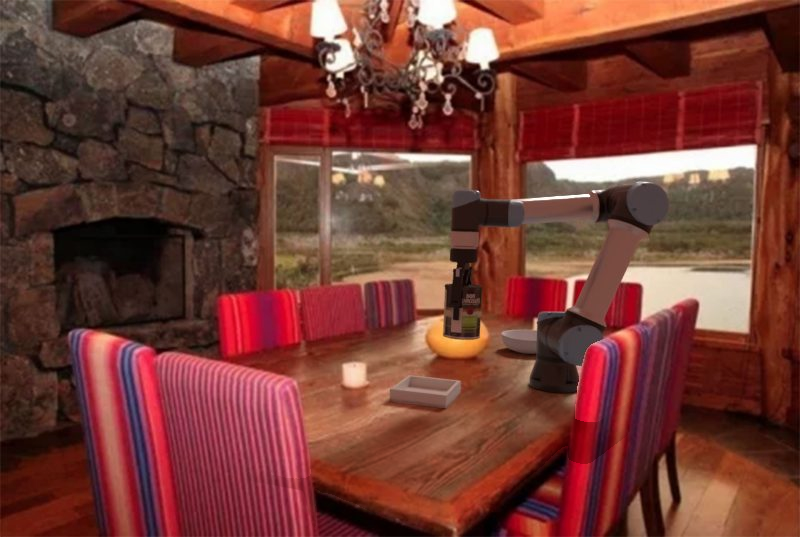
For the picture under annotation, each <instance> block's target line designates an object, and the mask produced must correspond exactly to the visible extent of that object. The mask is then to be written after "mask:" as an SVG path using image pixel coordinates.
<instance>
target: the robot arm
mask: <svg viewBox="0 0 800 537" xmlns="http://www.w3.org/2000/svg"><path fill="white" fill-rule="evenodd" d="M450 207H451V219H450V220H451V227H450V228H451V230H450V231H451V232H450V234H449V235H448V238H449V239H450V246H452V247H451V248H450V250H449V261H450V262H452V263H456V268H453V269H452V273H453V274H452V283H451V284H452V291H451V301H450V304H449V307H451V308H452V318H451V332H458V333H461V332H462V310H463V308H461V307H462V299H463V292H462V287H465V285H470V284H472V285H473V269H474V268H473V266H471V264H475V263H477V262H478V261H479V260H478V258H479V257H478V255H479V250H478V249H477V248H478V247H479V245H480V243H479V241H480V240H479V239H480V238H479V237H480V235H479V234H480V232H479V231H480V227H484V228H509V229H511V228H520V227H521V226H522V225H530V224H531V225H533V224H544V223H545V224H547V223H558V222H559V223H560V222H563V223H564V222H571V221H573V222H574V221H576V222H577V221H588V222H589V223H592V224H595V223H596V224H597V223H605V224H606V223H607V224H608V227H609V230H608V232H607V234H606V236H605V239H604V240H603V243H602V245H601V248H600V249H599V252H598V254H597V255H596V258H595V261H594V263H593V265H592V267H591V269H590V271H589V274H588V276H587V278H586V280H585V282H584V285H583V287H582V289H581V291H580V293H579V296H578V298H577V299H576V302H575V304H574V305H573V306H571V307H568V308H566V310H565V311H540V312H539V313H538V314H537V320H536V331H537V344H536V354H535V362H534V364H533V367H532V370H531V371H530V375H529V383H528V384H529V386H530V387H532V388H533V389H536V390H540V391H542V392H549V393H557V394H559V393H561V394H564V393H565V394H569V393H570V394H571V393H575V392H578V391H577V386H578V382H579V377H580V374H579V370H578V367H583V366H582V363H583V359H584V355H585V352H586V350H587V348H588V347H589V346H590V345H591V344H593V343H595V342H597V341H600V340H602V339H604V335H605V334H604V333H605V332H606V329H607V323H606V321H605V317H606V315H607V312H608V311H609V309H610V306H611V304H612V303H613V300H614V299H615V298H614V297H615V296H616V293H617V292H618V290H619V286H620V284H621V282H622V281H623V278H624V276H625V274H626V271H627V270H628V268H629V266H630V263H631V261H632V259H633V257H634V254H635V252H636V250H637V248H638V246H639V245H640V244H639V243H640V242H641V241H642V240H644V239H646V238H649V237H650V234H651V232H652V229H653V228H654V226H655V225H657V224H659V223H661V222H662V221H664V220H665V218H666V217H667V215H668V213H669V209H670V200H669V198H668V195H667V192H666V191H665V189H664V188H663V187H662V186H660V185H659V184H657V183H656V182H651V181H637V182H635V183H626V184H625V183H624V184H619V185H616V186H612V187H608V188H604V189H596V190H589V191H588V192H586V193H585V194H573V195H557V196H544V197H530V198H518V199H517V198H515V199H503V198H502V199H501V198H500V199H499V198H482V196H481V192H480V191H479V190H470V189H468V190H467V189H461V190H460V189H458V190H455V191H454V192H453V193H452V203H451V206H450ZM604 340H605V339H604Z"/></svg>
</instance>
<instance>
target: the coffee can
mask: <svg viewBox="0 0 800 537" xmlns="http://www.w3.org/2000/svg"><path fill="white" fill-rule="evenodd" d="M483 288H484V287H483V285H479V284H473V283H472V284H470V285H465V287H462V292H463V299H462V307H461V308H463V310H462V332H461V333H458V332H451V318H452V308H451V307H449V304H450V301H451V291H452V283H445V284H444V305H443V308H444V309H443V324H442V325H443V328H442V329H443V330H442V336H443V337H444V338H447V339H451V340H462V341H464V340H465V341H473V340H478V339H480V338H481V336H480V335H481V319H482V317H481V316H482V297H483Z"/></svg>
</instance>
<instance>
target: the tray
mask: <svg viewBox="0 0 800 537" xmlns="http://www.w3.org/2000/svg"><path fill="white" fill-rule="evenodd" d="M461 388H462V380H459V379H458V380H457V379H448V378H438V377H430V376H420V375H411V374H408V375H406V377H404V378H403V379H402V380H400V381H399V382H397V383H396V384H395V385H393V386H392V387H390V389H389V402H391V403H399V404H407V405H416V406H421V407H422V406H424V407H430V408H440V409H447V408H448V407H449V406H450V405H451V404H452V403H453V402H454V401H455V400H456V399H457V397H458V396H459V395H460V394H461V393H462V391H461V390H462V389H461Z"/></svg>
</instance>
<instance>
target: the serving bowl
mask: <svg viewBox="0 0 800 537" xmlns="http://www.w3.org/2000/svg"><path fill="white" fill-rule="evenodd" d="M500 335H501V340H502V342H503V345H504V346H506V348H508V349H509V350H511V351H513V352H516V353H518V354H524V355H536V344H537V330H533V329H509V330H503V331H502V332H501V334H500Z"/></svg>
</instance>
